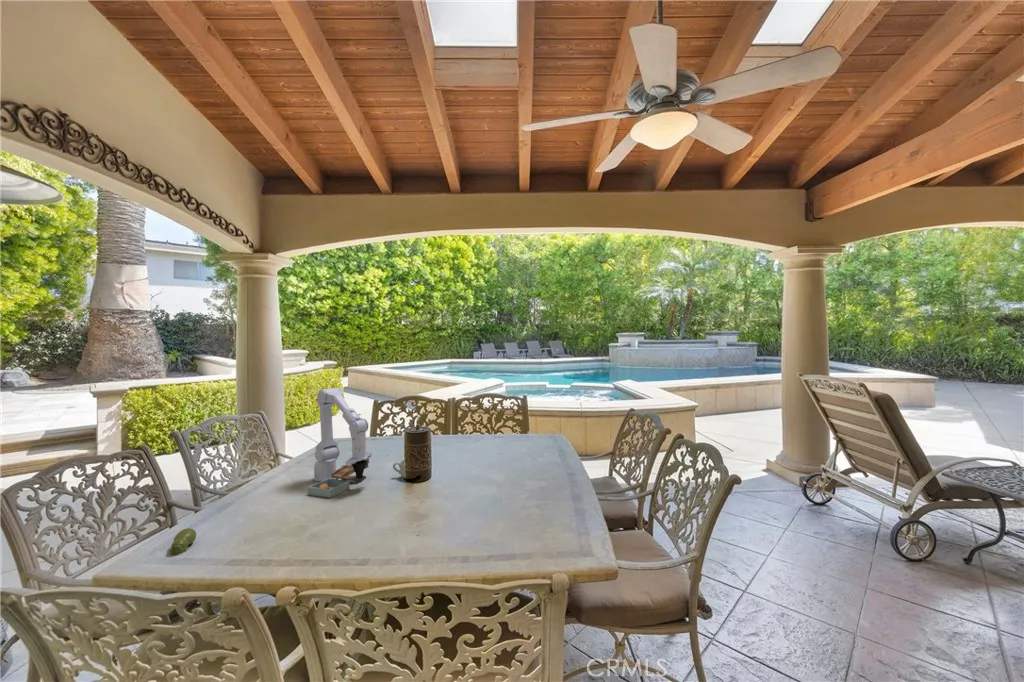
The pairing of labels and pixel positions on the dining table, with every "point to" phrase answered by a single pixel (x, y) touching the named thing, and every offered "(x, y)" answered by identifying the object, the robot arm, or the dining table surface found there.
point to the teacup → (402, 468)
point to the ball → (324, 486)
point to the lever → (348, 473)
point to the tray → (334, 488)
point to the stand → (351, 480)
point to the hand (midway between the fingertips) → (359, 477)
